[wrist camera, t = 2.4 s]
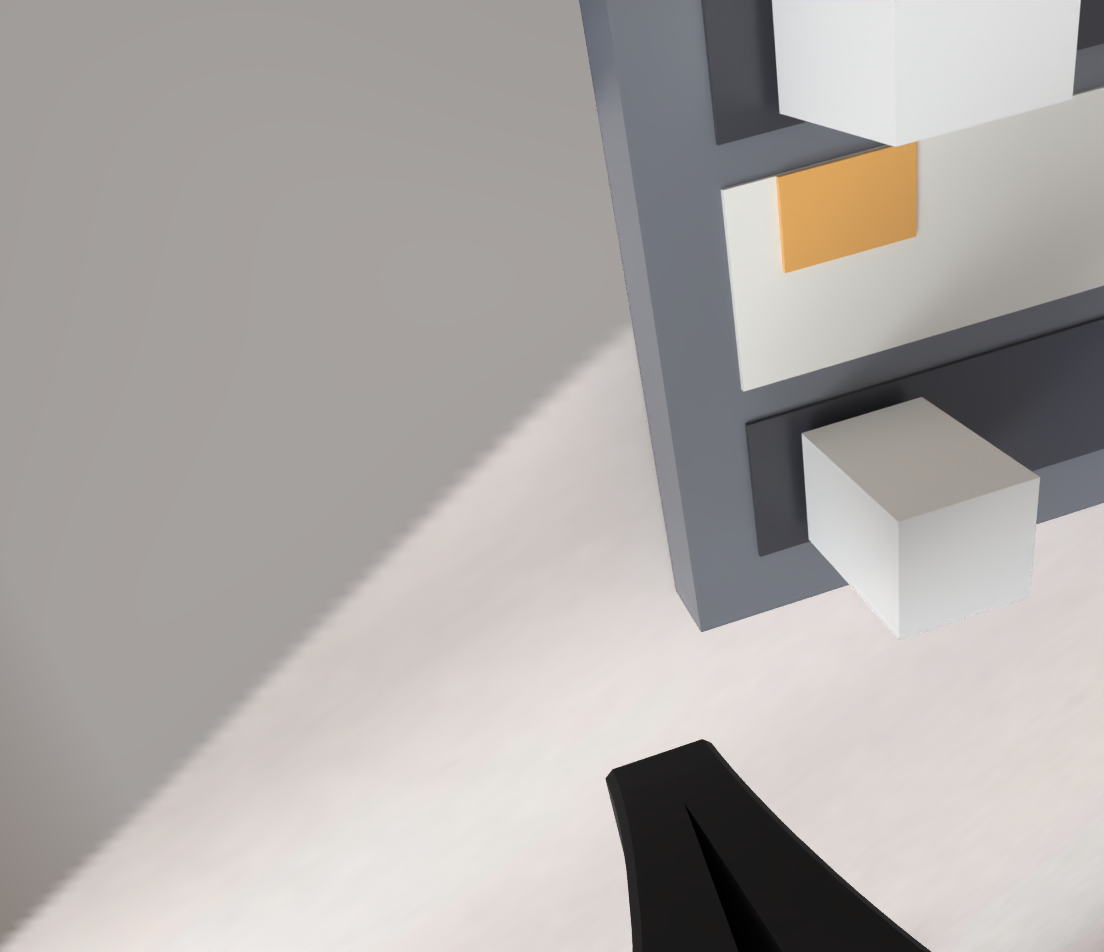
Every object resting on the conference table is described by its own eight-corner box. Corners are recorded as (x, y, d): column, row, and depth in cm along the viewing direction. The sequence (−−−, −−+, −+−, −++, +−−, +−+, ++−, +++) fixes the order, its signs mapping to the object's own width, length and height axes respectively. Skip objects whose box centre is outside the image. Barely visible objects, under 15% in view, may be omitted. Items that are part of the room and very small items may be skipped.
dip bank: (1391, -356, 15) (1510, -392, 13) (1234, 414, 22) (1301, 445, 20) (551, -170, 13) (581, -187, 12) (676, 590, 20) (704, 638, 19)
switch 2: (921, 396, 17) (1039, 476, 14) (920, 504, 18) (1030, 596, 16) (801, 433, 17) (898, 521, 14) (808, 539, 18) (899, 640, 15)
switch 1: (925, -105, 13) (1091, -127, 10) (924, 75, 14) (1072, 98, 12) (767, -67, 13) (894, -80, 10) (779, 113, 14) (895, 146, 11)
